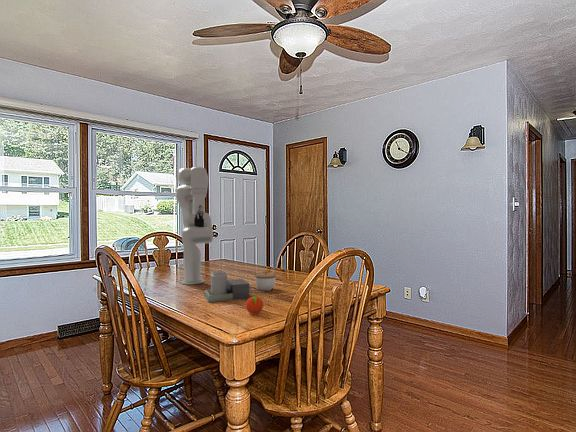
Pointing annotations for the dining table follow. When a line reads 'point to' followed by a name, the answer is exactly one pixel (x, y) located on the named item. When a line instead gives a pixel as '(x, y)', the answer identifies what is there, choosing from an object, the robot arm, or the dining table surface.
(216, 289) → the can
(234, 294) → the frame
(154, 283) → the dining table surface
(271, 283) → the lidded jar
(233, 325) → the dining table surface
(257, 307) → the tomato
